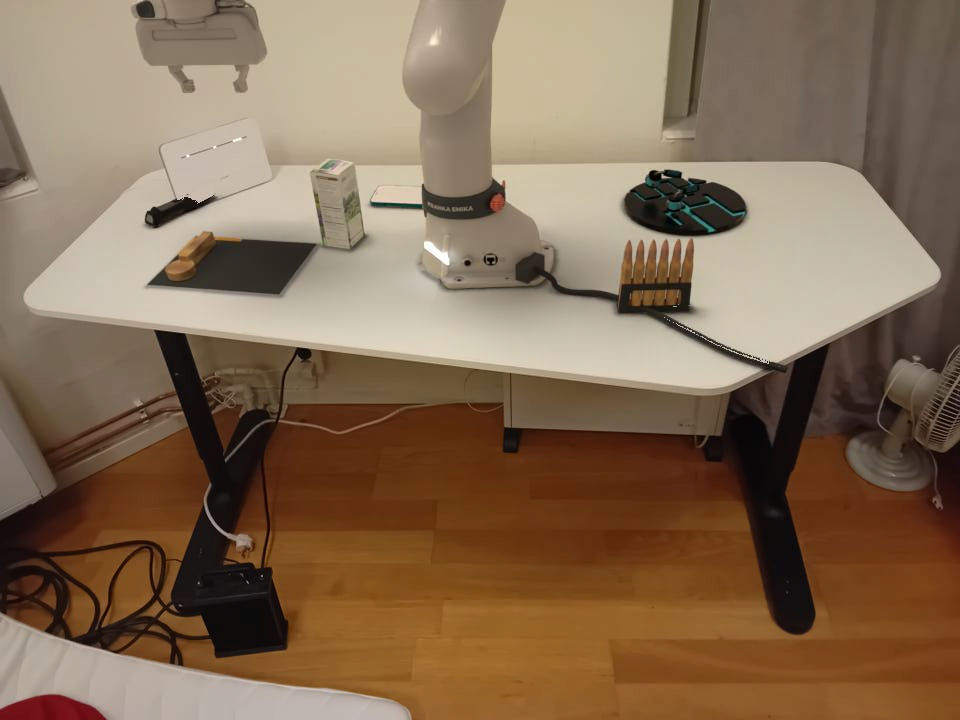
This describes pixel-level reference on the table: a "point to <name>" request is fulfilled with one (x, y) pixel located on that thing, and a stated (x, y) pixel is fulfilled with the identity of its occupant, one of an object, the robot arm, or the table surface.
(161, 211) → the electric trimmer
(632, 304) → the ammunition clip
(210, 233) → the orange wooden ladle
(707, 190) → the platform
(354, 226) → the syrup box
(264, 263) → the mat
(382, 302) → the table surface
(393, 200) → the smartphone
